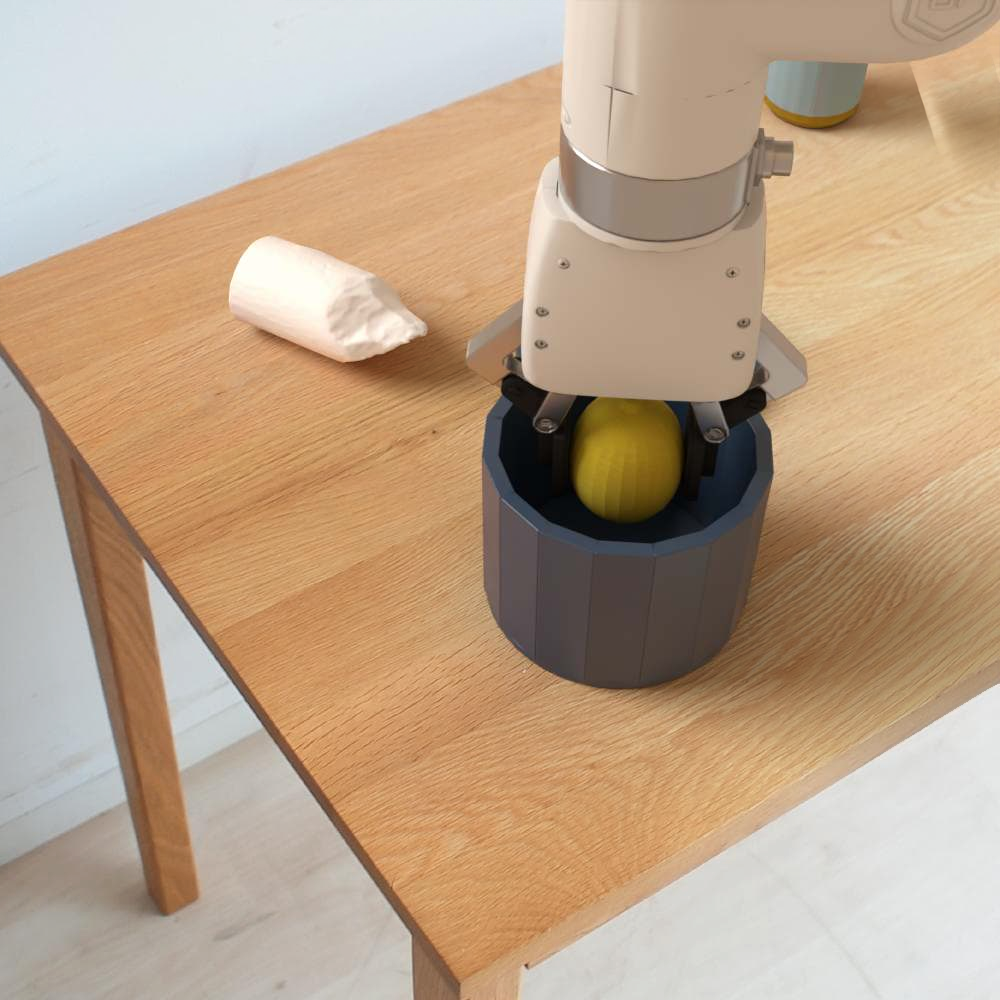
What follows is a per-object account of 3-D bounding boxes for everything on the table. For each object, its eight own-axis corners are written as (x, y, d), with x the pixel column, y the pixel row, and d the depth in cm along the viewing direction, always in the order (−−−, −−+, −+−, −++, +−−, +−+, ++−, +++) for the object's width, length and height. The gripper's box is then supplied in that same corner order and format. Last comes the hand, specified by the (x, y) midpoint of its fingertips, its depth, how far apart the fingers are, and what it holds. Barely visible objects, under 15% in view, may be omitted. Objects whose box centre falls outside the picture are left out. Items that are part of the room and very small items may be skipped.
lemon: (697, 532, 71) (716, 417, 65) (598, 570, 69) (608, 457, 63) (641, 458, 74) (654, 342, 68) (545, 493, 73) (550, 378, 67)
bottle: (865, 132, 103) (909, -70, 91) (766, 131, 103) (798, -70, 91) (850, 77, 107) (891, -122, 96) (755, 77, 107) (785, -122, 96)
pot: (740, 491, 80) (766, 352, 72) (749, 697, 71) (780, 564, 63) (496, 478, 81) (495, 338, 73) (474, 680, 72) (471, 546, 64)
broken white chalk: (397, 410, 84) (391, 339, 80) (233, 338, 88) (220, 267, 84) (451, 350, 88) (449, 278, 83) (292, 283, 92) (282, 212, 88)
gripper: (869, 117, 58) (798, 430, 72) (445, 98, 59) (455, 410, 73) (888, 234, 53) (808, 546, 67) (424, 212, 54) (439, 524, 68)
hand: (624, 473), depth 70 cm, fingers closed on lemon, 5 cm apart
